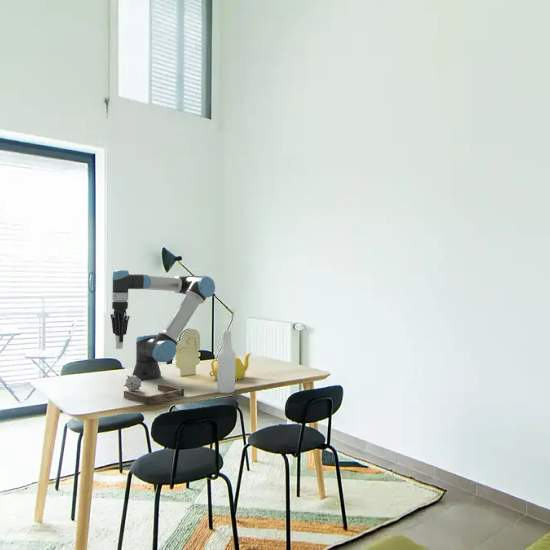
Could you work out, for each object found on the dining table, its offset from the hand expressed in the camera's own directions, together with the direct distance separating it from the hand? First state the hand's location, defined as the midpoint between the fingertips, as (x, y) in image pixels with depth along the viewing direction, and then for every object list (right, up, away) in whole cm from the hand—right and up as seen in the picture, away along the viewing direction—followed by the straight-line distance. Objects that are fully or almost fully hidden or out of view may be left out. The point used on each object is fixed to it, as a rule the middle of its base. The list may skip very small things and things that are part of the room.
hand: (119, 348), depth 252 cm
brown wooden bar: (+21, -20, -17) cm, 33 cm away
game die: (+9, -20, -7) cm, 23 cm away
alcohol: (+54, -21, -4) cm, 58 cm away
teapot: (+53, -21, +28) cm, 64 cm away
